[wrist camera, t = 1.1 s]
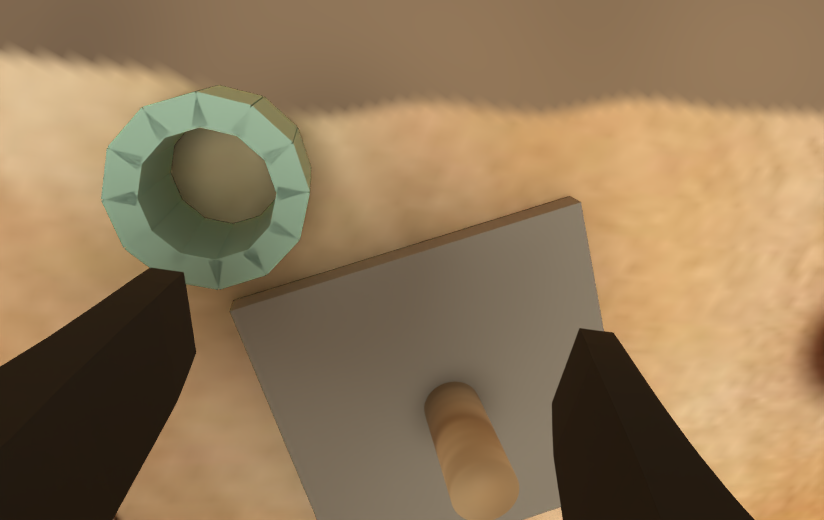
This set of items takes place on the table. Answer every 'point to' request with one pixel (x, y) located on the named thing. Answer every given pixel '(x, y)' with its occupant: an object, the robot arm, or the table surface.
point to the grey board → (424, 360)
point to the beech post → (470, 453)
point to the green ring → (176, 220)
